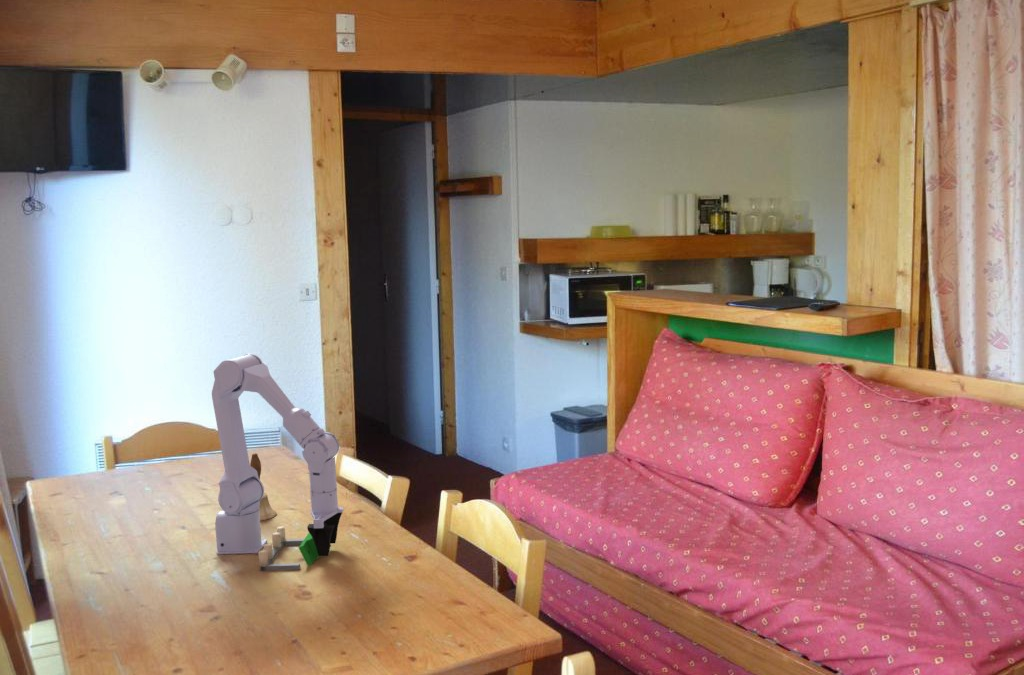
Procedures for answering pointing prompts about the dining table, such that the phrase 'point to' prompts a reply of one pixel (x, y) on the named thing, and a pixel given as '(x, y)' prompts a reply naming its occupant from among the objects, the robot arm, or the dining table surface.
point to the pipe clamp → (309, 549)
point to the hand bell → (264, 507)
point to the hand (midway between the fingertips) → (327, 549)
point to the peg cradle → (270, 554)
